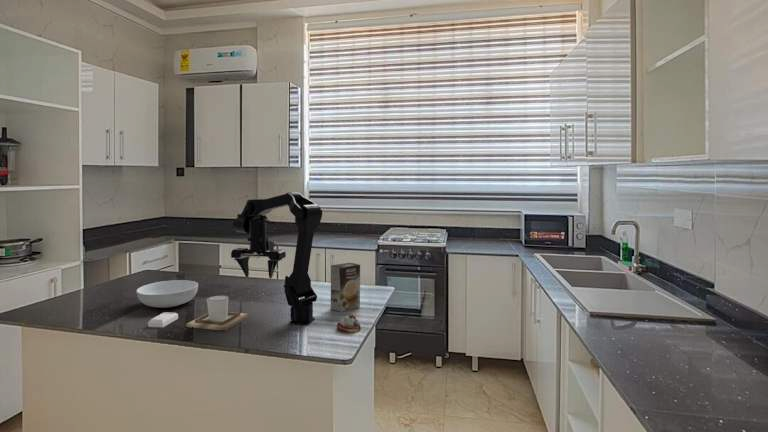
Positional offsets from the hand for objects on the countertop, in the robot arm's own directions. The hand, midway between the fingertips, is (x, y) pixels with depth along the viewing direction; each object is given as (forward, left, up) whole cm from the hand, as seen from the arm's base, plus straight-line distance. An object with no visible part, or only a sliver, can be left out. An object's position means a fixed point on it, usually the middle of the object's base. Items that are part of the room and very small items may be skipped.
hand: (258, 277), depth 159 cm
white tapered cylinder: (+7, +15, -11) cm, 20 cm away
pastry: (-37, +10, -12) cm, 41 cm away
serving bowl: (+37, +2, -12) cm, 39 cm away
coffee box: (-29, -10, -12) cm, 33 cm away
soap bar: (+24, +20, -13) cm, 34 cm away
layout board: (+7, +15, -12) cm, 20 cm away
